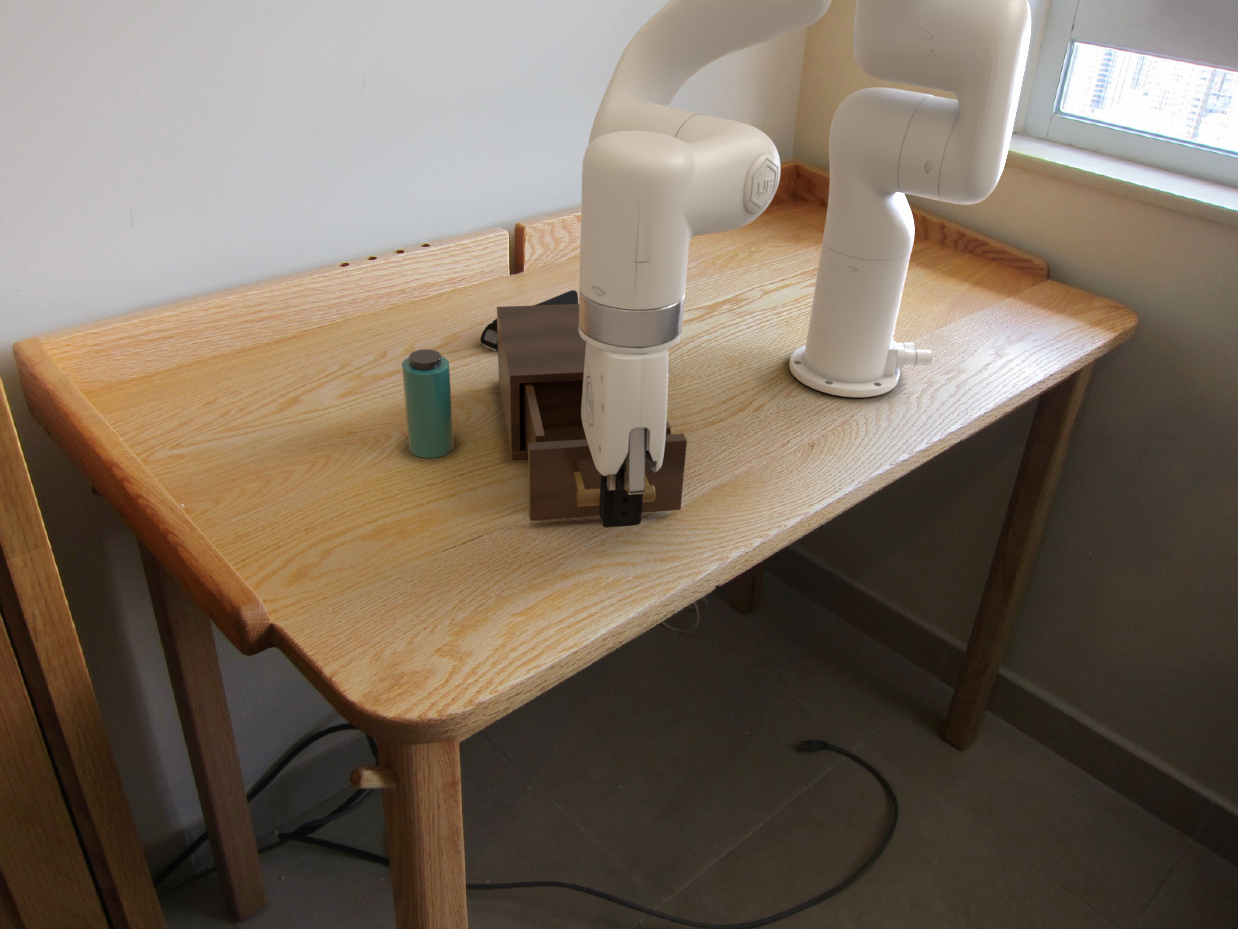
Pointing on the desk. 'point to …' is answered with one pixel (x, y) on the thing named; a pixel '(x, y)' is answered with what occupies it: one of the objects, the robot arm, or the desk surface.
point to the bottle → (428, 403)
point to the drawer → (581, 458)
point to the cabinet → (535, 357)
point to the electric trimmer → (571, 297)
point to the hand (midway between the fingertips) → (619, 520)
